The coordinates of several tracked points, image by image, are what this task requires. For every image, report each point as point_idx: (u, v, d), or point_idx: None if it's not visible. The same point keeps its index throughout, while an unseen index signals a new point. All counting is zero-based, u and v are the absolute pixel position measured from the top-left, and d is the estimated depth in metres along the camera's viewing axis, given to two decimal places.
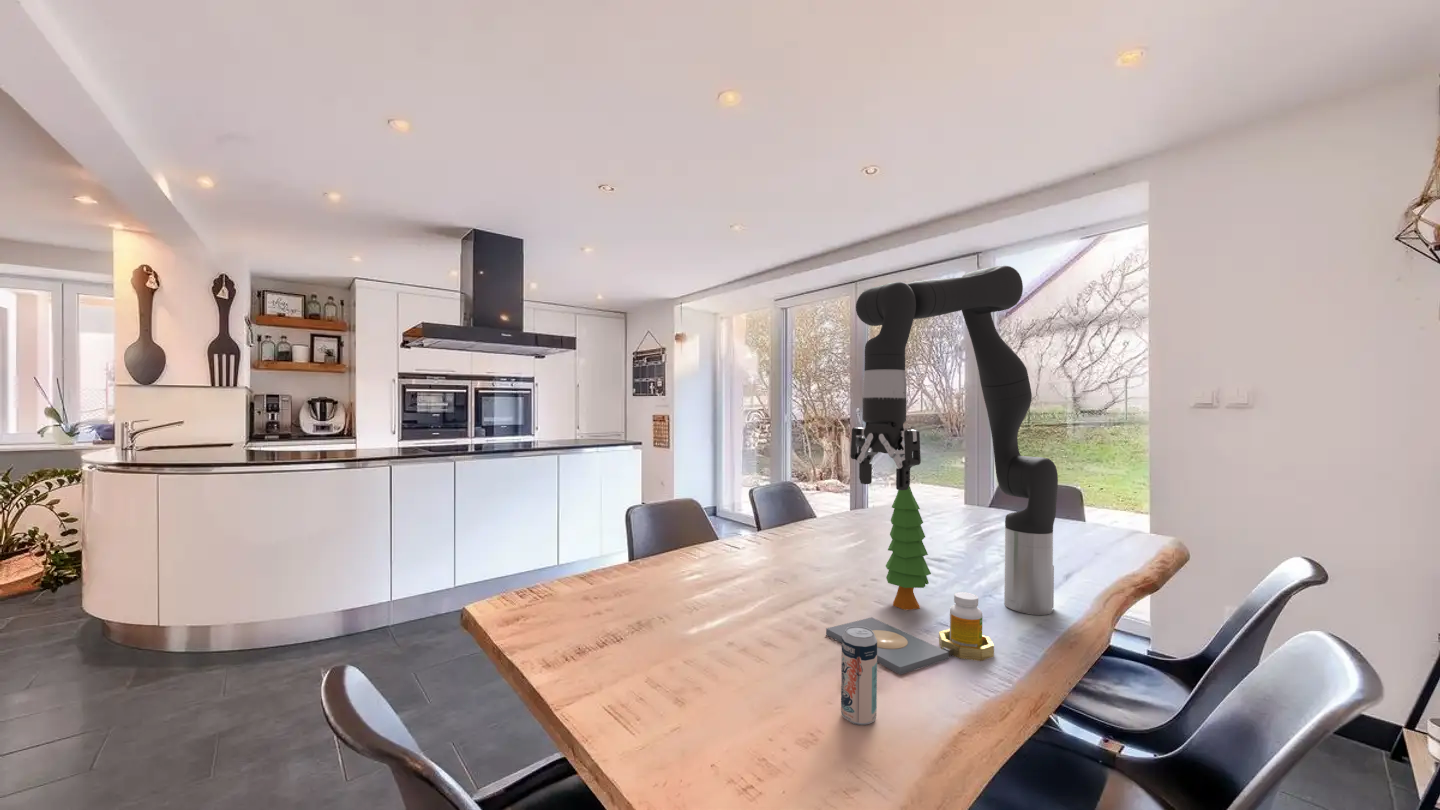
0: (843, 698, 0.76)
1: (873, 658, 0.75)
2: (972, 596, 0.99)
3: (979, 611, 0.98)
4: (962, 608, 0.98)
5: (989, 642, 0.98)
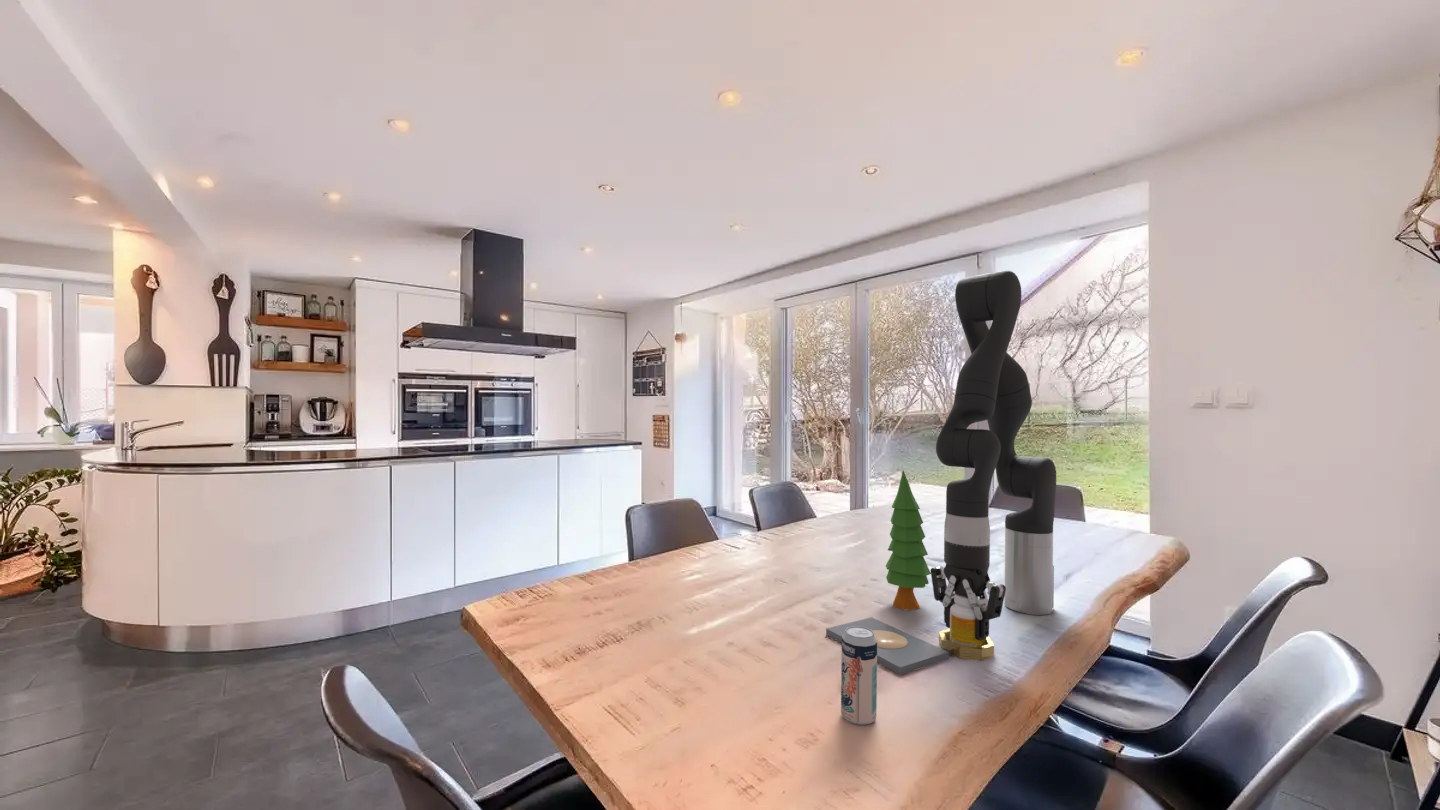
0: (843, 698, 0.76)
1: (873, 658, 0.75)
2: None
3: None
4: (962, 608, 0.98)
5: (989, 642, 0.98)
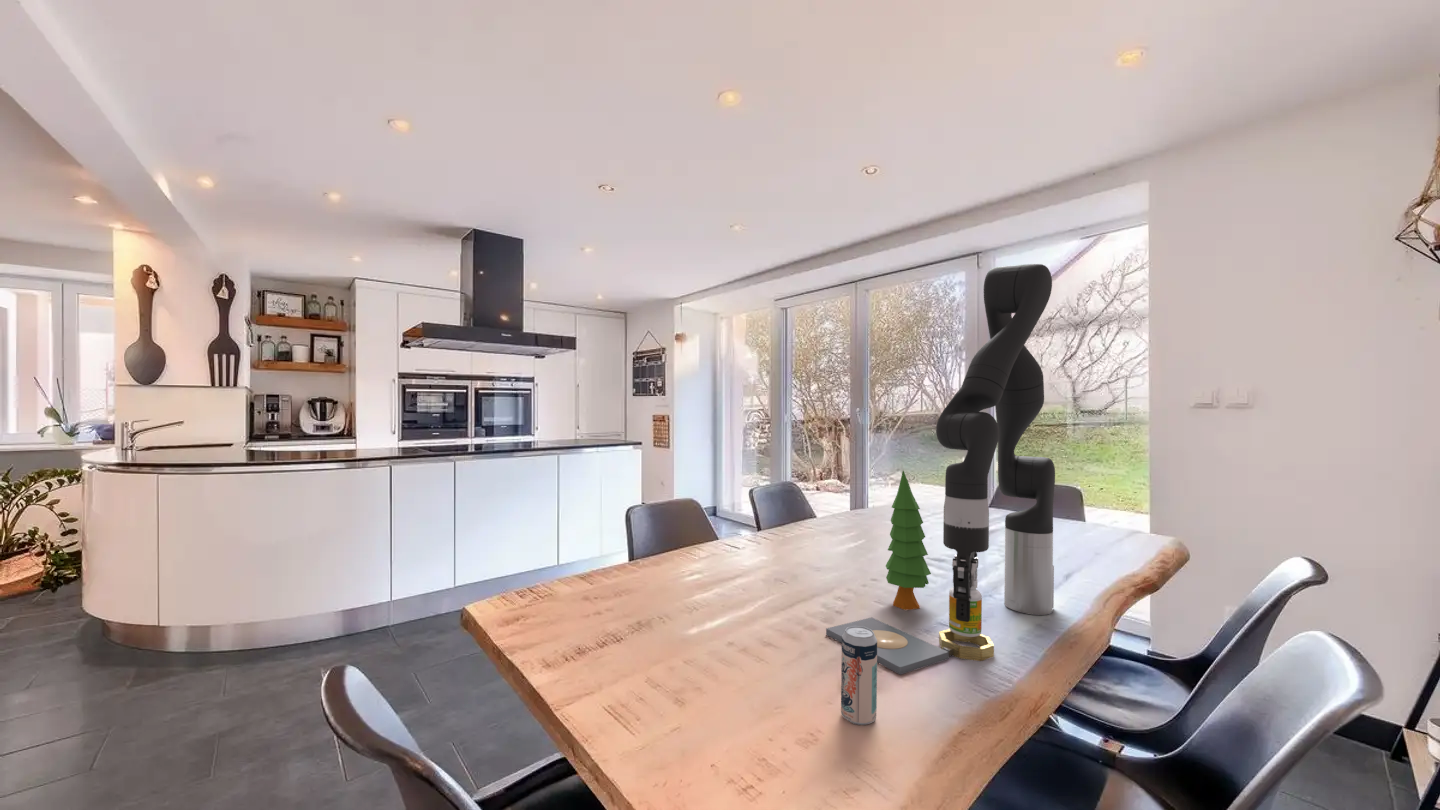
0: (843, 698, 0.76)
1: (873, 658, 0.75)
2: None
3: None
4: None
5: (989, 642, 0.98)
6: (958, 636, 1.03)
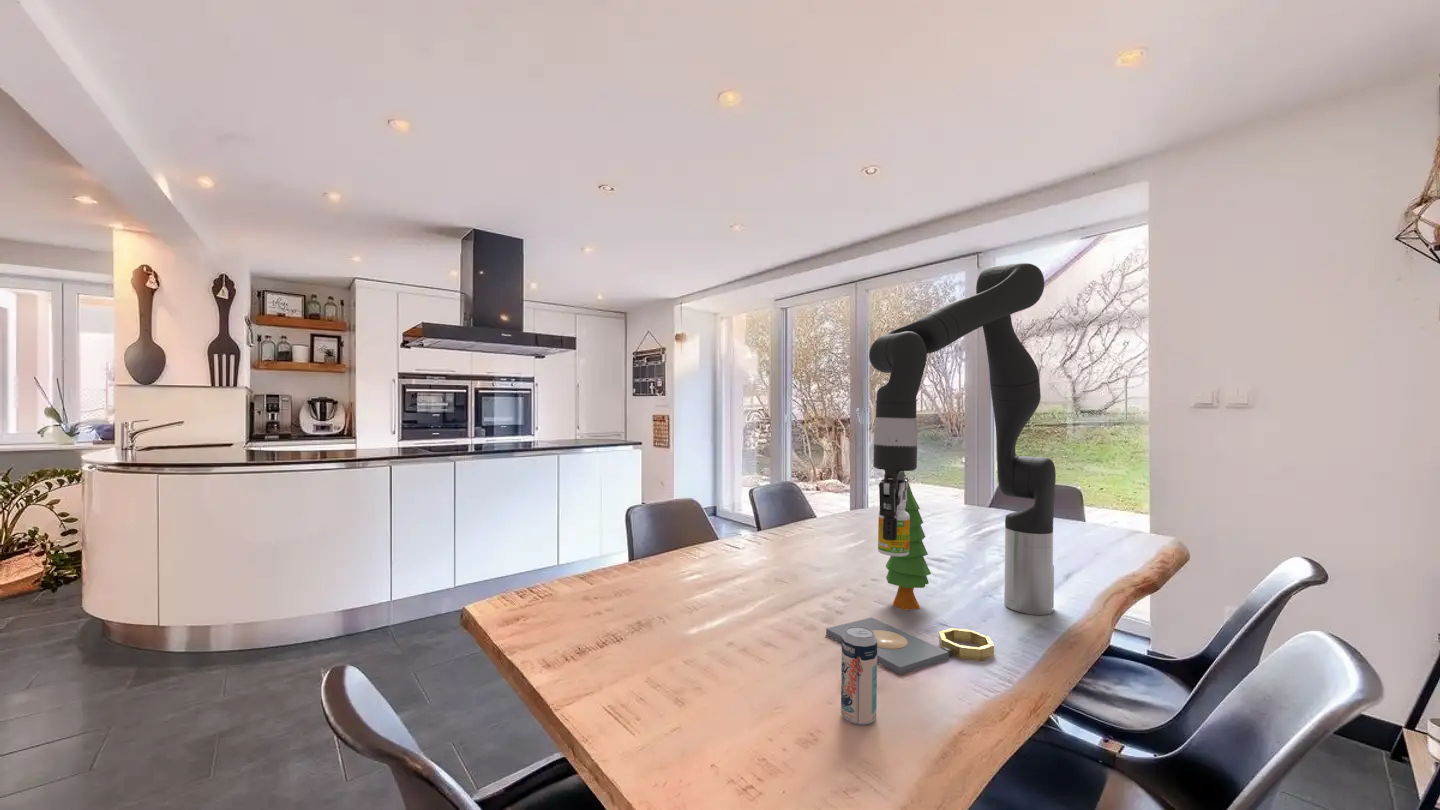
0: (843, 698, 0.76)
1: (873, 658, 0.75)
2: None
3: None
4: None
5: (989, 642, 0.98)
6: (958, 636, 1.03)
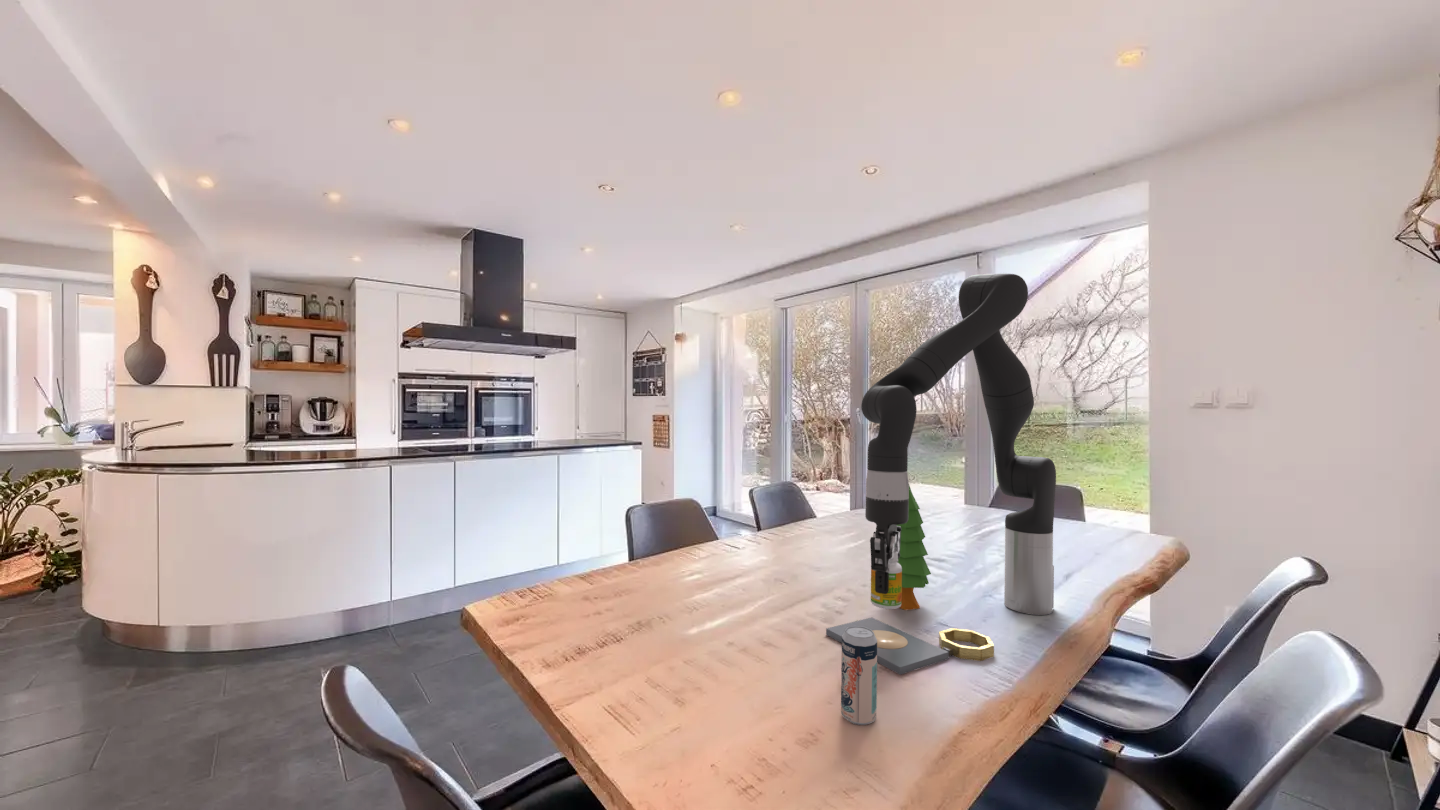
0: (843, 698, 0.76)
1: (873, 658, 0.75)
2: None
3: None
4: None
5: (989, 642, 0.98)
6: (958, 636, 1.03)
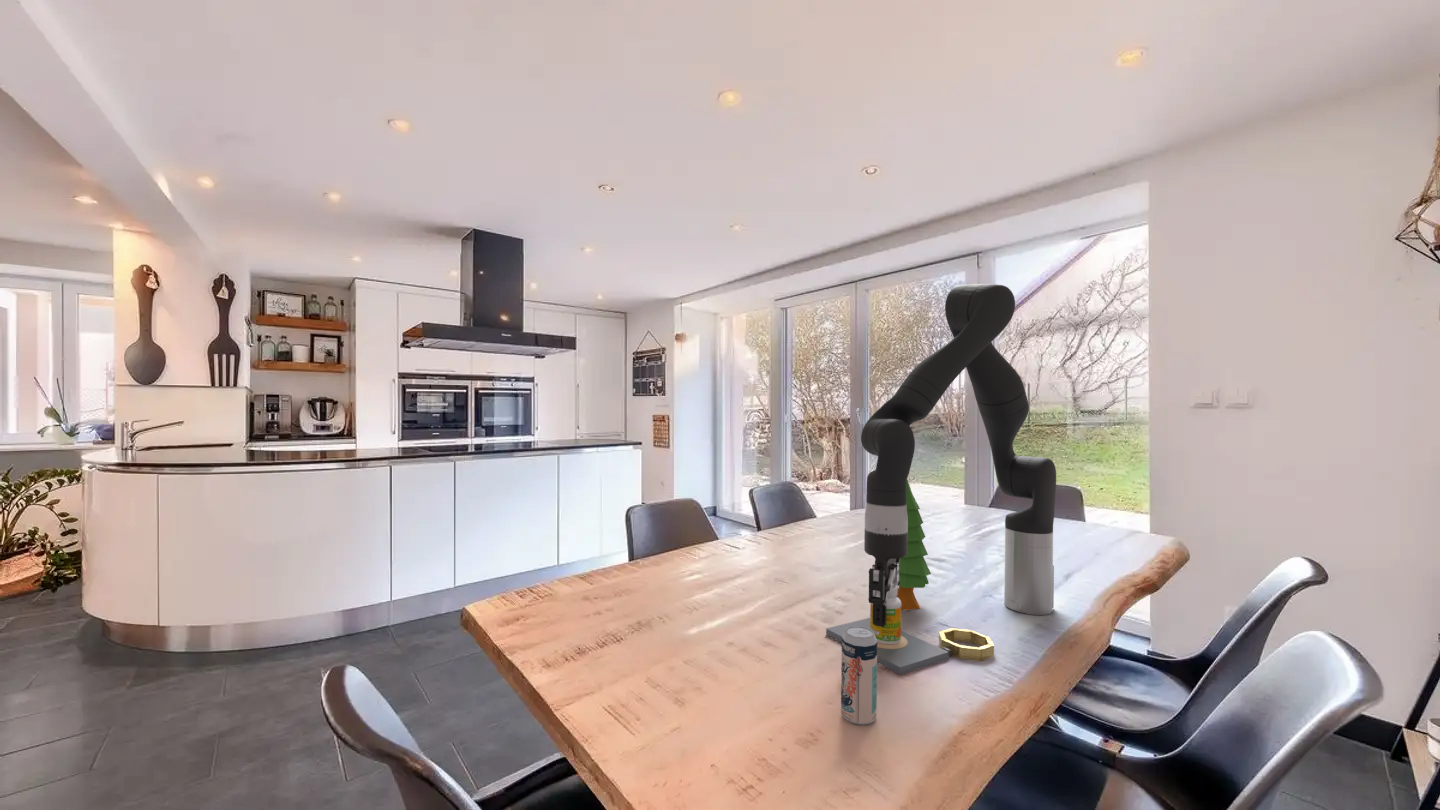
0: (843, 698, 0.76)
1: (873, 658, 0.75)
2: None
3: (887, 602, 0.98)
4: None
5: (989, 642, 0.98)
6: (958, 636, 1.03)
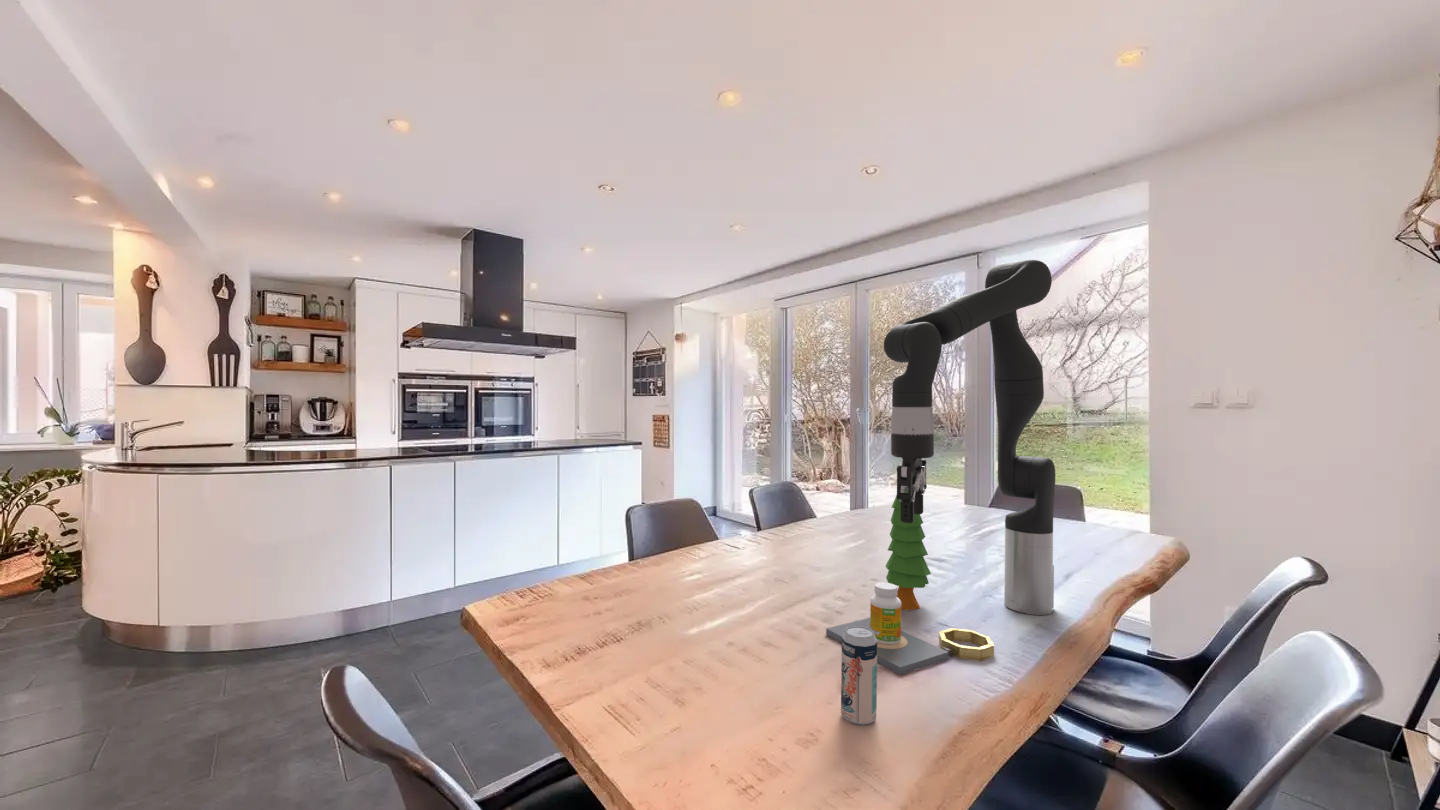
0: (843, 698, 0.76)
1: (873, 658, 0.75)
2: (887, 587, 0.99)
3: (887, 602, 0.98)
4: None
5: (989, 642, 0.98)
6: (958, 636, 1.03)
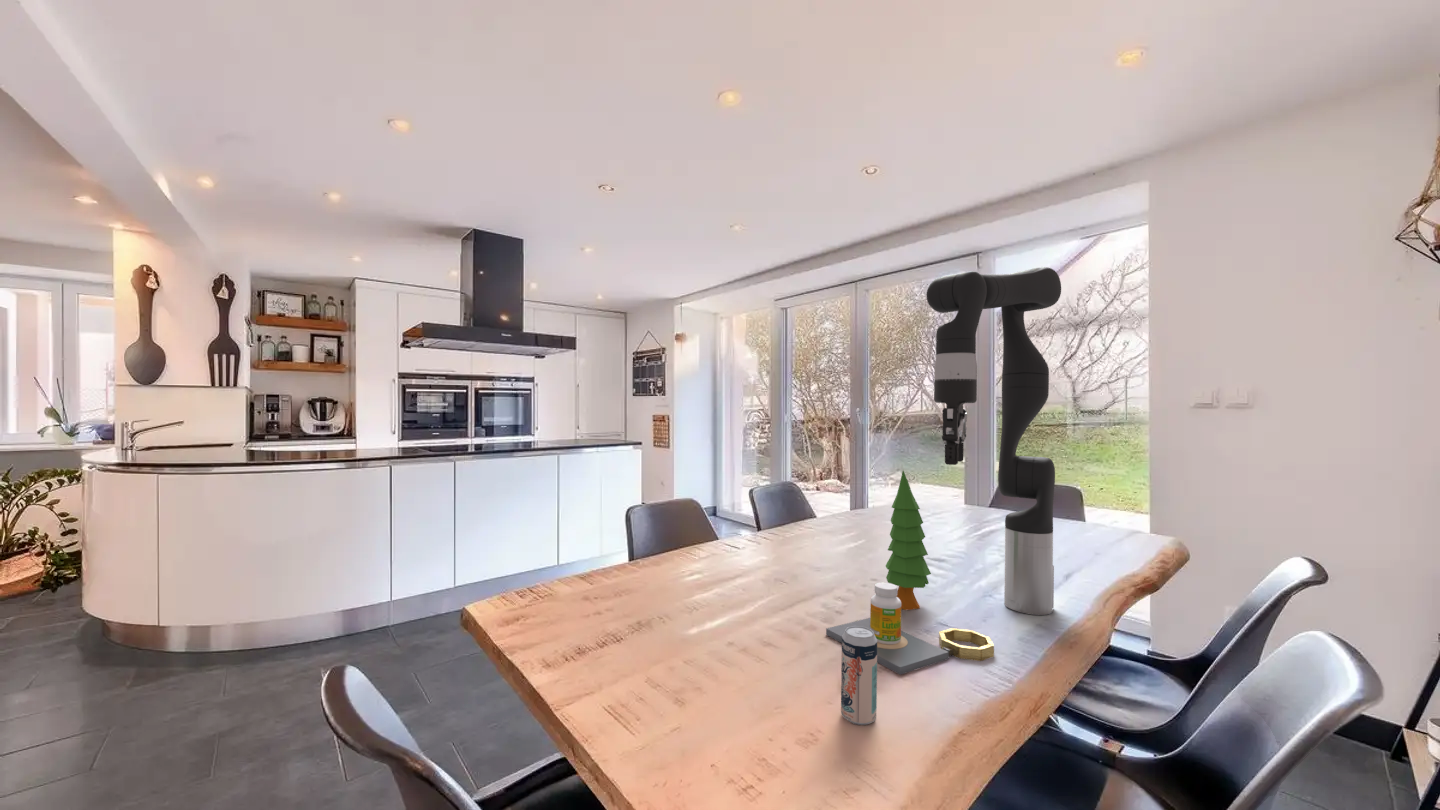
0: (843, 698, 0.76)
1: (873, 658, 0.75)
2: (887, 587, 0.99)
3: (887, 602, 0.98)
4: None
5: (989, 642, 0.98)
6: (958, 636, 1.03)
